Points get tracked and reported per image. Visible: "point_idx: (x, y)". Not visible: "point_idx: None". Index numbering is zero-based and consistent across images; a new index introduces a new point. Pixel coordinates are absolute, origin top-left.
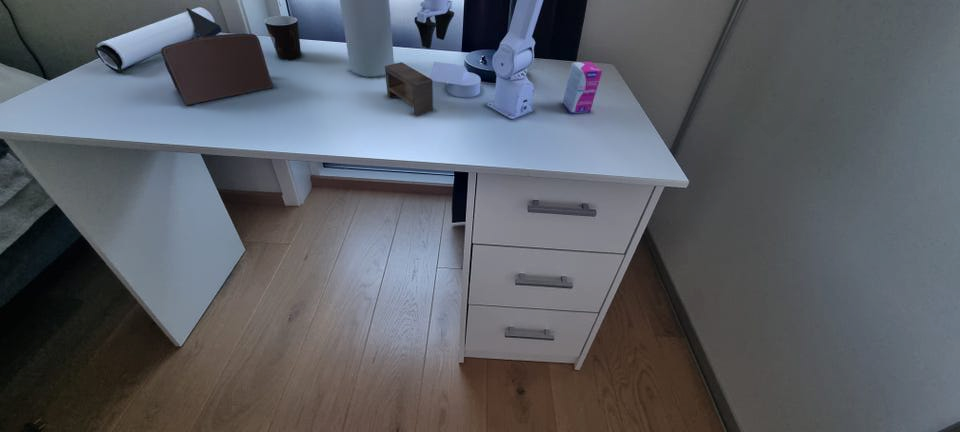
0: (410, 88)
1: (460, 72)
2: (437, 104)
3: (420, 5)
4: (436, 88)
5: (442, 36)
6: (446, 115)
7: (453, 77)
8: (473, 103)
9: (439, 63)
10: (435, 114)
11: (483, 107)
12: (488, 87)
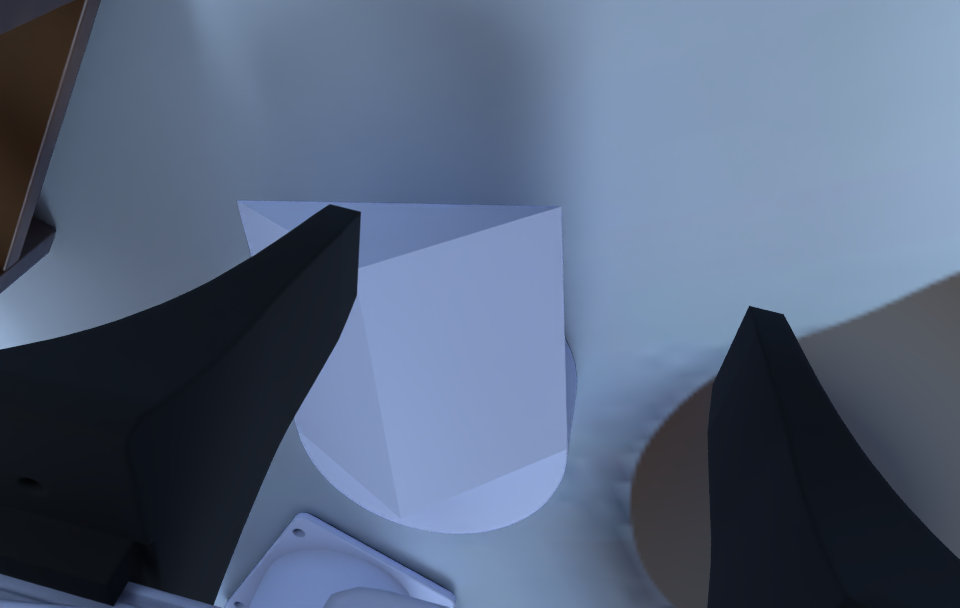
0: (30, 82)
1: (354, 467)
2: (145, 256)
3: (345, 594)
4: (382, 184)
5: (716, 412)
6: (59, 335)
7: (315, 402)
8: (293, 446)
9: (355, 322)
10: (24, 275)
11: (277, 494)
12: (571, 504)
